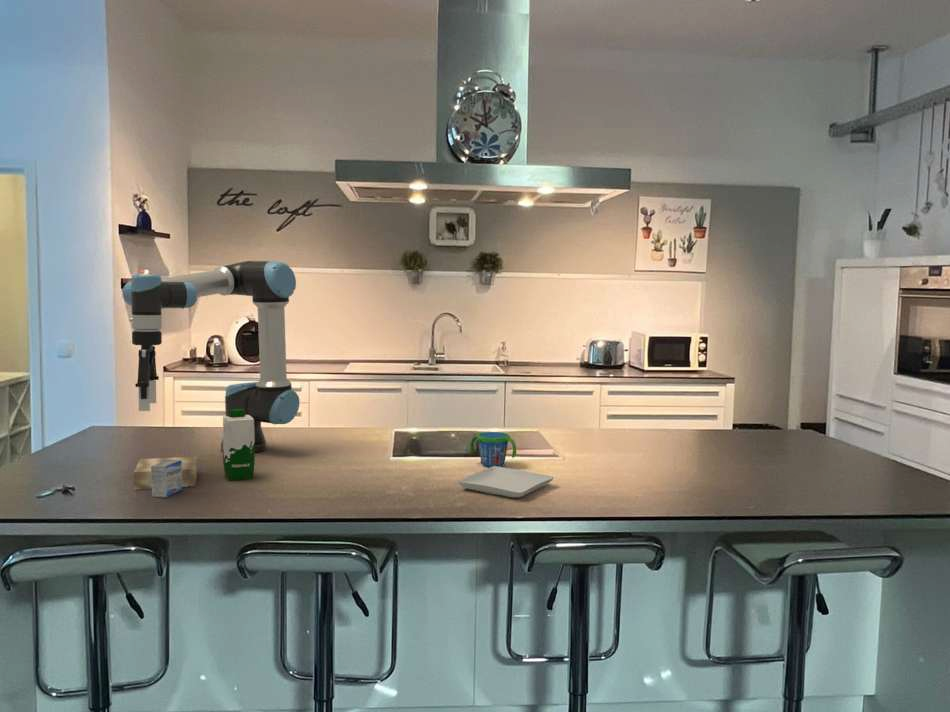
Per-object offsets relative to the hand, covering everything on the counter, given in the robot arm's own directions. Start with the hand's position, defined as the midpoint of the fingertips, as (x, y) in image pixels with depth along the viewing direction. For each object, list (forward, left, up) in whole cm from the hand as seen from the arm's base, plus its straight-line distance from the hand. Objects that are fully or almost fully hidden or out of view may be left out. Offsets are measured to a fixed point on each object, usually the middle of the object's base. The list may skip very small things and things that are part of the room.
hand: (147, 407), depth 216 cm
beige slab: (-4, -8, -23) cm, 25 cm away
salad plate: (-98, +22, -24) cm, 103 cm away
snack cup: (-103, -5, -23) cm, 106 cm away
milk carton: (-24, -8, -23) cm, 34 cm away
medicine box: (-5, +6, -23) cm, 25 cm away
